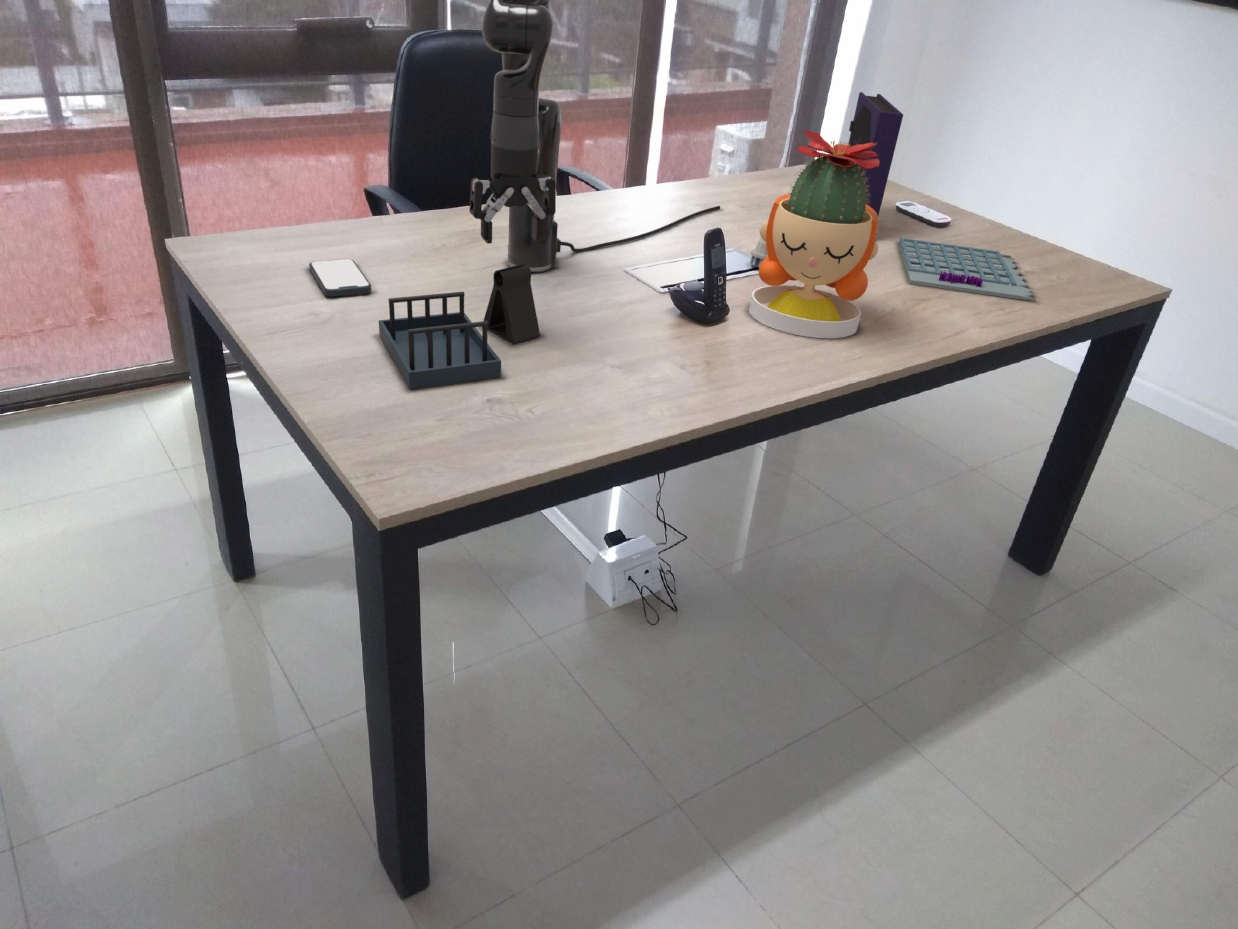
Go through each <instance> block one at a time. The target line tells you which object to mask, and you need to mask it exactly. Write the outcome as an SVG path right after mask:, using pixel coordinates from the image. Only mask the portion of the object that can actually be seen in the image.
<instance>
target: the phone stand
mask: <svg viewBox="0 0 1238 929" xmlns="http://www.w3.org/2000/svg"><path fill="white" fill-rule="evenodd" d="M522 266H523V267H522ZM531 281H532V272H531V270H530V268H529V266H528V265H527V266H524V264H521V265H517V266H513V267H510V266H508V267H505V268H501V269H496V270H495V271H494V272H493V285H492V289H491V293H490V296H489V300H488V303H487V307H486V310H485V313H484V318H483V321H487V322H488V328H487V331H489V332H490V333H491V334H494V335H496V336H498V337H499V338H501V339H503V340H504V341H506V342H508V343H510V345H511V344H512V345H516V344H519V343H522V342H525V341H528V340H531V339H534V338H537V337H540V336H541V331H540V326H539V321H538V316H537V315H538V314H537V310H536V304H535V299H534V295H533V289H532V282H531Z"/></svg>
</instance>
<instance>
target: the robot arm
mask: <svg viewBox="0 0 1238 929" xmlns="http://www.w3.org/2000/svg"><path fill="white" fill-rule="evenodd" d="M481 22H482V23H481V34H482V39H483V41H484V43H485V45H486V46H487V47H488V48H489V50H491V51H492V52H495V53H498V54H501V66H502V67H501V68H502V70H499V71H498V72H496V74H495V75H494V77H493V78H494V79H493V103H492V104H493V105H492V108H493V109H492V110H493V111H492V119H491V131H490V154H491V155H490V176H489V179H478V177H473V178H471V181H470V192H469V193H470V194H469V210H468V211H469V214H470V215H471V216H472V217H473V218H474V219H476V220H480V236H481V238H482V240H484V242H485V243H486V244H493V221H492V220H493V218H494V217H495V216H496V214H497V213H498V212H500V211H501V210H502V208H503V207H505V208H508V242H507V243H508V244H507V266H508V267H513V266H517V265H521V264H524V266H527V265H528V266H529V268H530V270H531V273H541V272H547V271H549V270H550V269H556V264H557V253H561V250H562V249H561V248H562V247H561V246H565V247H569V248H570V250H571V251H572V252H573V253H584V252H588V251H593V250H597V249H600V248H605V247H611V246H616V245H619V244H620V245H621V244H625V243H629V242H632V241H636V240H640V239H643V238H646V237H649V236H652V235H655V234H657V233H660V232H663V231H665V230H667V229H670V228H672V227H674V226H676V225H678V224H680V223H683V222H685V221H687V220H690V219H692V218H695V217H697V216H701V215H703V214H707V213H709V212H713V211H717V210H720V209H721V206H720V205H717V206H712V207H710V208H706V209H705V208H704V209H703V210H700V211H696V212H693V213H691V214H689V215H687V216H684V217H682V218H679V219H677V220H675V221H673V222H671V223H668V224H667V225H663V226H661V227H658V228H656V229H653V230H651V231H648V232H644V233H641V234H639V235H634V236H631V237H627V238H622V239H618V240H613V241H608V242H603V243H597V244H595V245H591V246H588V247H582V248H575V246H574V244H572V243H571V242H567V241H562V240H561V239H560V238H559V237H558V228H559V227H558V226H559V224H558V222H557V221H556V220H555V214H556V212H557V210H556V208H557V207H556V206H557V204H556V203H557V202H556V201H557V200H556V198H557V197H556V196H557V195H556V191H557V190H556V188H557V187H556V186H557V174H558V167H559V153H560V142H561V134H562V123H563V118H562V117H563V114H562V109H561V106H560V104H559V102H558V101H557V100H553V99H549V98H541V97H540V87H541V86H540V85H541V78H542V73H543V69H544V66H545V62H546V58H547V57H548V56H547V55H548V54H549V53H548V52H549V49H550V46H551V44H552V41H553V36H554V32H555V26H554V25H555V24H554V18H553V16H552V13H551V0H489V2H488V4H487V6H486V8H485V11H484V13H483V17H482V21H481ZM488 189H489V190H490V191H491V195H490V196H489V197H488V199H487V200H486V204H485V205H484V206H483V195H485V194H486V193H487V190H488ZM482 207H483V208H482ZM522 267H523V266H522Z"/></svg>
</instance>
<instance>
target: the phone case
mask: <svg viewBox="0 0 1238 929" xmlns="http://www.w3.org/2000/svg"><path fill="white" fill-rule="evenodd" d="M308 266H309V270H310V272H311V274H312V275H313V277H314V279H315V280H316V282H317V284H318V286H319V287H320V289H321V291H322V293H323V294H324V296H326V297H339V296H352V295H361V294H369V293H371V291H372V285H371V283H370V281H369V280H368V279H367V277H366V276H365V274H364V273H363V272H362V270H361V269H360V267H359V266H358V264H357V263H356V261H355V260H354V259H351V258H340V259H339V258H337V259H328V260H317V261H316V260H315V261H311V262H309V264H308Z"/></svg>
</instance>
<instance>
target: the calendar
mask: <svg viewBox="0 0 1238 929" xmlns="http://www.w3.org/2000/svg"><path fill="white" fill-rule="evenodd" d="M898 246H899V249H900V253H901V257H902V260H903V264H904V267H905V271H906V275H907V278H908V283H909V284H910V285H915V286H916V285H918V286H924V287H930V288H938V289H945V290H950V291H951V290H952V291H958V292H964V293H965V292H966V293H973V294H978V295H979V294H980V295H986V296H992V297H993V296H994V297H1000V298H1007V299H1014V300H1022V301H1023V300H1024V301H1031V302H1036V298H1035V297H1034V296H1035V293H1033V292H1032V291H1033V290H1032V289H1030V288H1029V284H1028V283H1026V282H1025V279H1026V278H1025V277H1024V276H1020V275H1022V271H1021V270H1017V269H1016V268H1018V264H1016V263H1015V262H1016V260H1015V259H1011V257H1012V255H1009V254H1004V253H1001V252H1000V251H997V250H991V249H985V248H976V247H970V246H962V245H955V244H948V243H941V242H935V241H934V242H933V241H927V240H920V239H918V240H917V239H912V238H907V237H899V241H898ZM998 258H999V259H998ZM1005 271H1006V272H1005ZM1009 284H1011V285H1009Z"/></svg>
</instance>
